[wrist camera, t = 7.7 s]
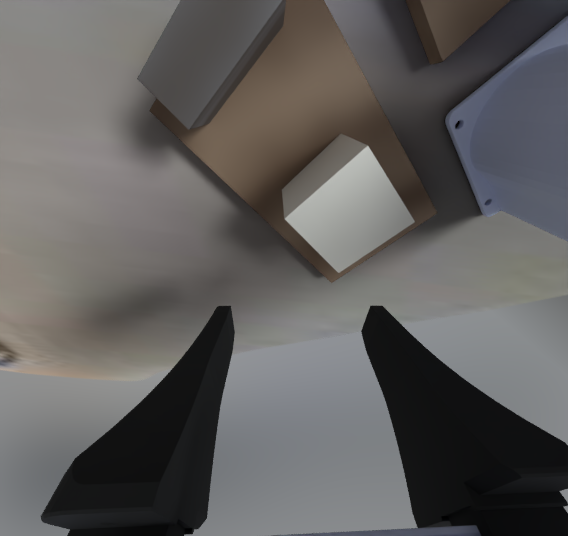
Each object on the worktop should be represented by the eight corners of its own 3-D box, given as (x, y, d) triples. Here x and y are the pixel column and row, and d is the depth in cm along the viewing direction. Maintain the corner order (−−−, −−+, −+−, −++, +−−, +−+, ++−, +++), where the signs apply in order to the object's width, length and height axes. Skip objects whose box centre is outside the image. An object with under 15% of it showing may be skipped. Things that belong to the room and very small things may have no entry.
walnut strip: (429, 207, 18) (475, 238, 14) (329, 275, 22) (341, 315, 18) (274, -74, 10) (274, -199, 6) (157, 110, 14) (107, 112, 10)
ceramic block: (380, 192, 16) (415, 221, 12) (324, 235, 18) (338, 273, 14) (341, 133, 14) (368, 145, 10) (281, 189, 16) (284, 218, 12)
